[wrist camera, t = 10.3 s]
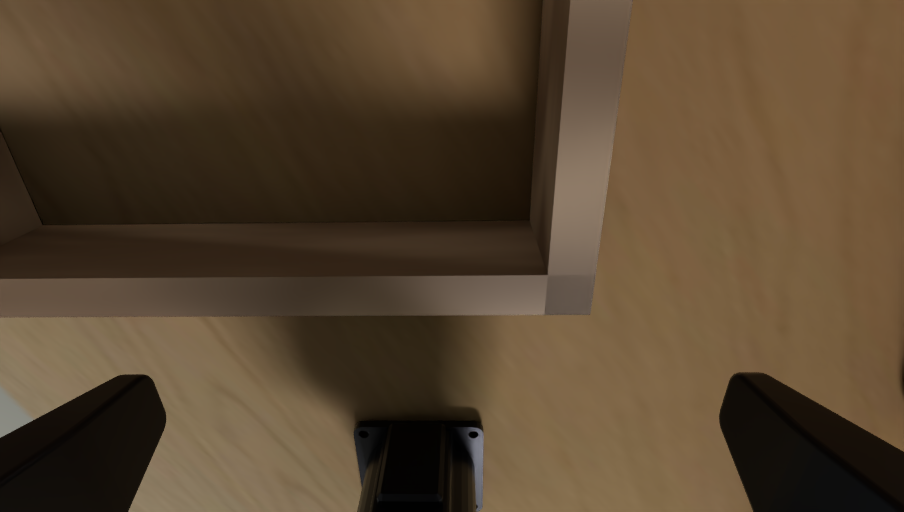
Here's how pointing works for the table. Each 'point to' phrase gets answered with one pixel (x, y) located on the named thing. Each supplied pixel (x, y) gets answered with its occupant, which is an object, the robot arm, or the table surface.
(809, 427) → the robot arm
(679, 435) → the table surface
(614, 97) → the walnut pen
